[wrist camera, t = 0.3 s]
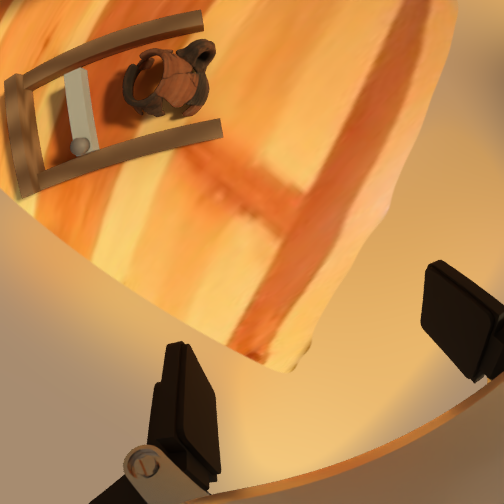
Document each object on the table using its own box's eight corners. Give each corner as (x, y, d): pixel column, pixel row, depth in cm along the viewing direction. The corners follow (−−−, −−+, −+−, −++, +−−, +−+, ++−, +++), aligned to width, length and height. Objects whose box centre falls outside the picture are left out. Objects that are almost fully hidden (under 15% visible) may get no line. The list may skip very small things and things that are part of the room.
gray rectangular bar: (71, 77, 26) (57, 72, 23) (87, 70, 26) (74, 64, 23) (83, 155, 31) (70, 157, 27) (99, 149, 31) (87, 151, 27)
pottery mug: (182, 137, 35) (138, 130, 27) (148, 97, 36) (106, 86, 28) (246, 69, 30) (213, 43, 22) (203, 34, 31) (167, 10, 23)
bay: (20, 83, 26) (4, 81, 22) (201, 16, 28) (200, 3, 24) (37, 191, 33) (22, 198, 29) (222, 137, 35) (224, 137, 31)
